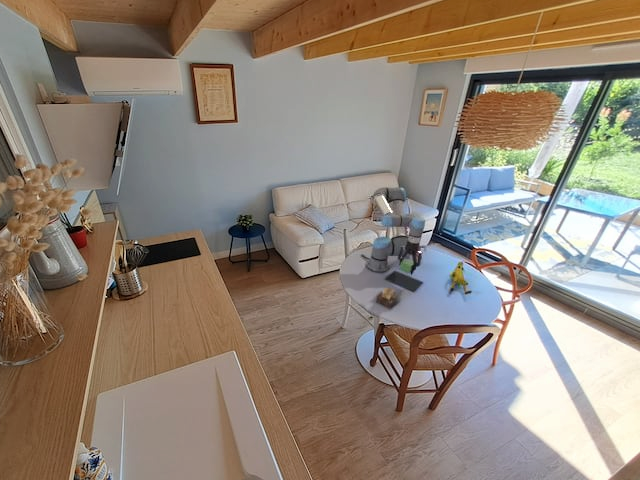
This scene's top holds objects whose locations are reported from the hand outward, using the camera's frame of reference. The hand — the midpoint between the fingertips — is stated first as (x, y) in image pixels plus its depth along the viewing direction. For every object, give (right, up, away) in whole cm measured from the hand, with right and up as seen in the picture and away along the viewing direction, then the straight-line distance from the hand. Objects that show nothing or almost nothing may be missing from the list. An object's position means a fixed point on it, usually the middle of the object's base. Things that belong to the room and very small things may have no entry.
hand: (406, 271), depth 192 cm
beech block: (-19, -14, -17) cm, 29 cm away
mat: (0, -7, +4) cm, 8 cm away
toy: (+16, +8, +29) cm, 34 cm away
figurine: (+37, -8, +1) cm, 38 cm away
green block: (0, +1, -1) cm, 1 cm away
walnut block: (-19, -18, -15) cm, 30 cm away
